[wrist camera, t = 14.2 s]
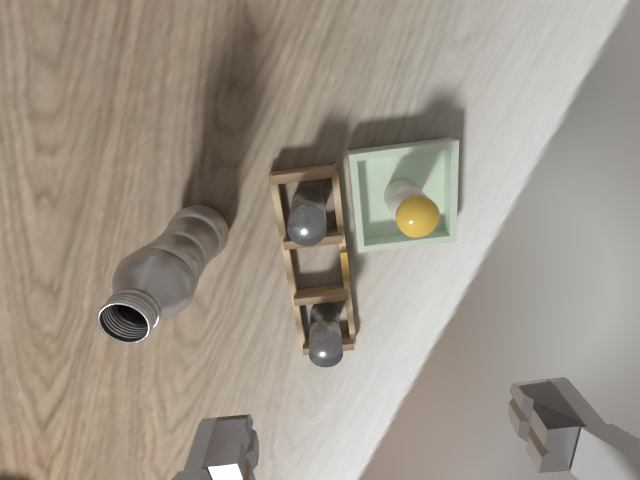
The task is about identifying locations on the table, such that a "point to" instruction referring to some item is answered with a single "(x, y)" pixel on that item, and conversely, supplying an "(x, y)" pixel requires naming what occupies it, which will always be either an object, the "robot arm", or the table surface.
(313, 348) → the canister
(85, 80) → the table surface
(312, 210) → the canister
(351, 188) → the tray
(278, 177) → the rack
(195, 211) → the plastic bottle
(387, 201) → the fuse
